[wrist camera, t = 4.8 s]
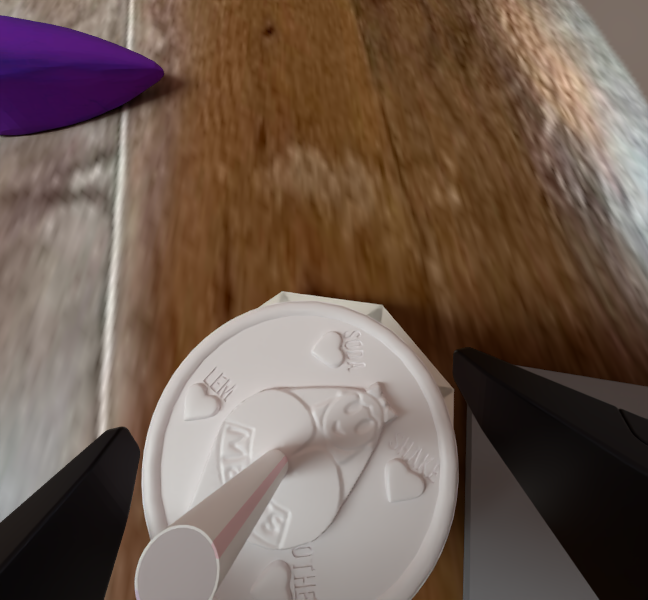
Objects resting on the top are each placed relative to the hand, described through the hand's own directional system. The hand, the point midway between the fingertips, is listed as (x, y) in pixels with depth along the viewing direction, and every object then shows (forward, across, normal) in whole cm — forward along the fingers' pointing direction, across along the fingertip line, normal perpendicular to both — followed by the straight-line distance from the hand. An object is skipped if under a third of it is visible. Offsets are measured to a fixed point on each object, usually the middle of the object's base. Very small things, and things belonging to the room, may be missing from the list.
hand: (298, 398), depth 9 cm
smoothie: (+5, 0, +6) cm, 8 cm away
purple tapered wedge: (+22, +13, -11) cm, 27 cm away
